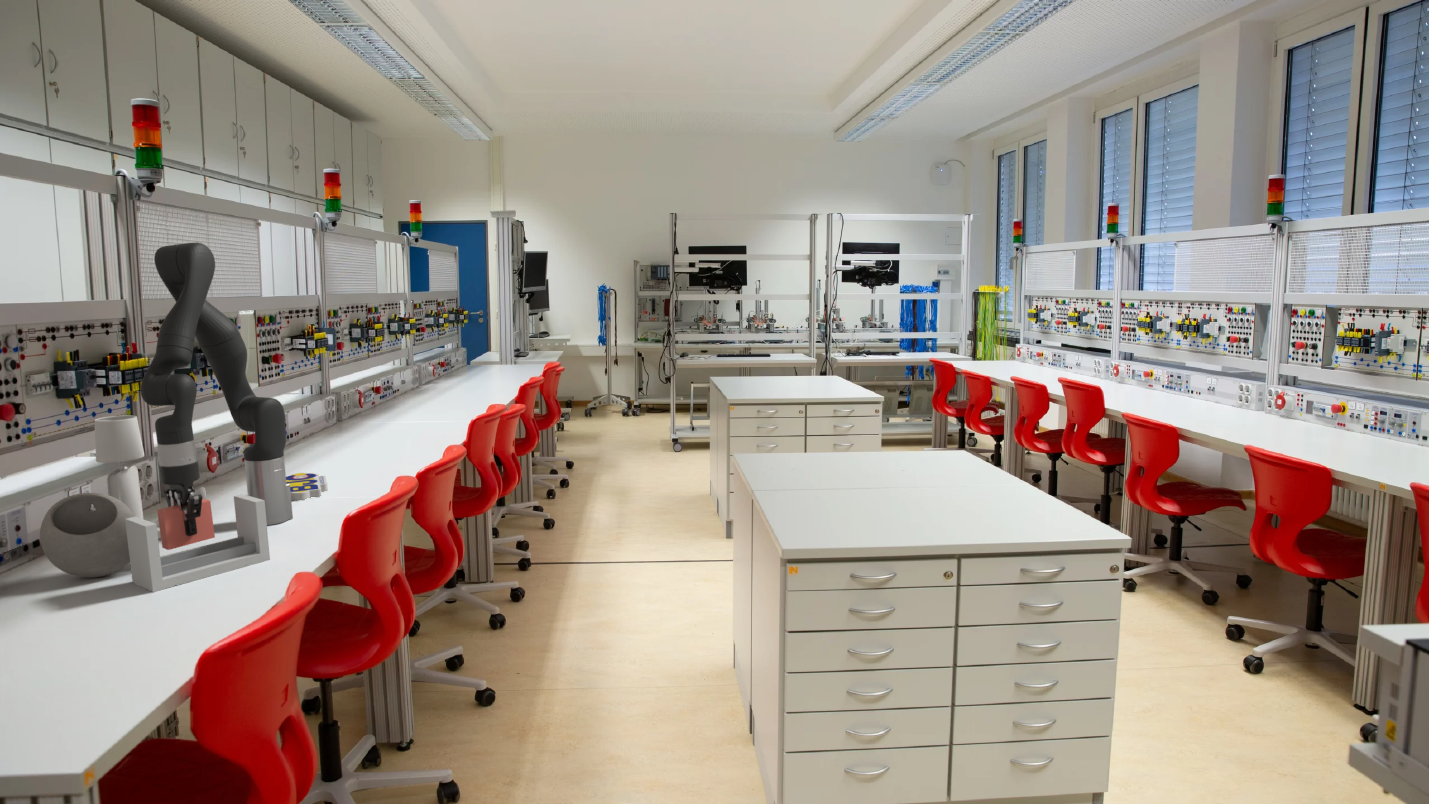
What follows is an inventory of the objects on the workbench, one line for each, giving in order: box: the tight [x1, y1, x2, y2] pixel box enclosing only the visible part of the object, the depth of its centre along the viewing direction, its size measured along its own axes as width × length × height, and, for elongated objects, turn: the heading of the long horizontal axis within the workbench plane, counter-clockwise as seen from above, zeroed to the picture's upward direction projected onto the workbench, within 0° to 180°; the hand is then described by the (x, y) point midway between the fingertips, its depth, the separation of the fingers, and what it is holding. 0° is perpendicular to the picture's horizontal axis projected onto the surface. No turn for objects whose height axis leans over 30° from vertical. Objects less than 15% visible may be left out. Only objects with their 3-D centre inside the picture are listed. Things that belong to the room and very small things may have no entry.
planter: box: [39, 492, 136, 579], centre depth 180 cm, size 18×7×19 cm, turn 105°
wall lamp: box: [94, 414, 207, 540], centre depth 210 cm, size 10×21×30 cm, turn 101°
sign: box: [286, 472, 329, 501], centre depth 254 cm, size 28×3×20 cm
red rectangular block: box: [156, 498, 216, 551], centre depth 193 cm, size 10×3×9 cm, turn 146°
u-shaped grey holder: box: [125, 493, 271, 593], centre depth 184 cm, size 24×10×14 cm, turn 145°
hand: (187, 533), depth 193 cm, fingers closed on red rectangular block, 3 cm apart
